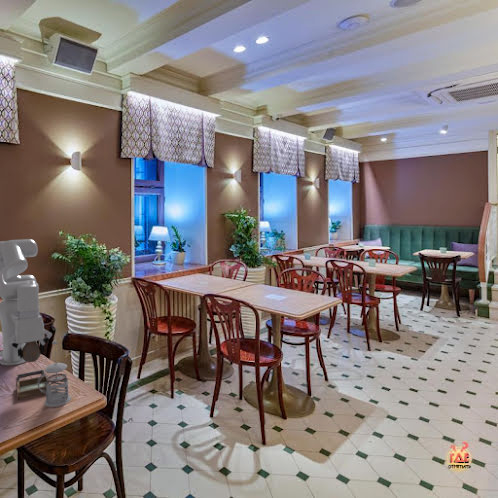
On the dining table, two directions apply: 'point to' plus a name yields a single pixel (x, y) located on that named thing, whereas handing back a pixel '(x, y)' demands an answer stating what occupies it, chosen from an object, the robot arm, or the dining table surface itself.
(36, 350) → the vase
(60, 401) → the french press
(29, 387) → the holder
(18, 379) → the trivet frame
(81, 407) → the dining table surface
